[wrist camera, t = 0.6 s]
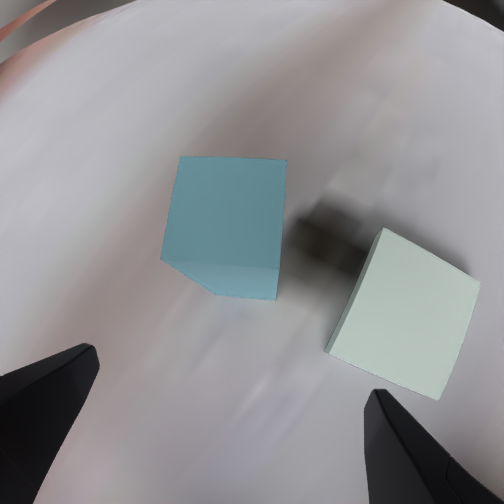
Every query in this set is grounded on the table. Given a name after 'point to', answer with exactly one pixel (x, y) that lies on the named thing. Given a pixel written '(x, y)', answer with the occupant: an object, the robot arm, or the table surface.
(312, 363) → the table surface
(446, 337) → the base tile
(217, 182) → the teal pillar
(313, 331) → the table surface
